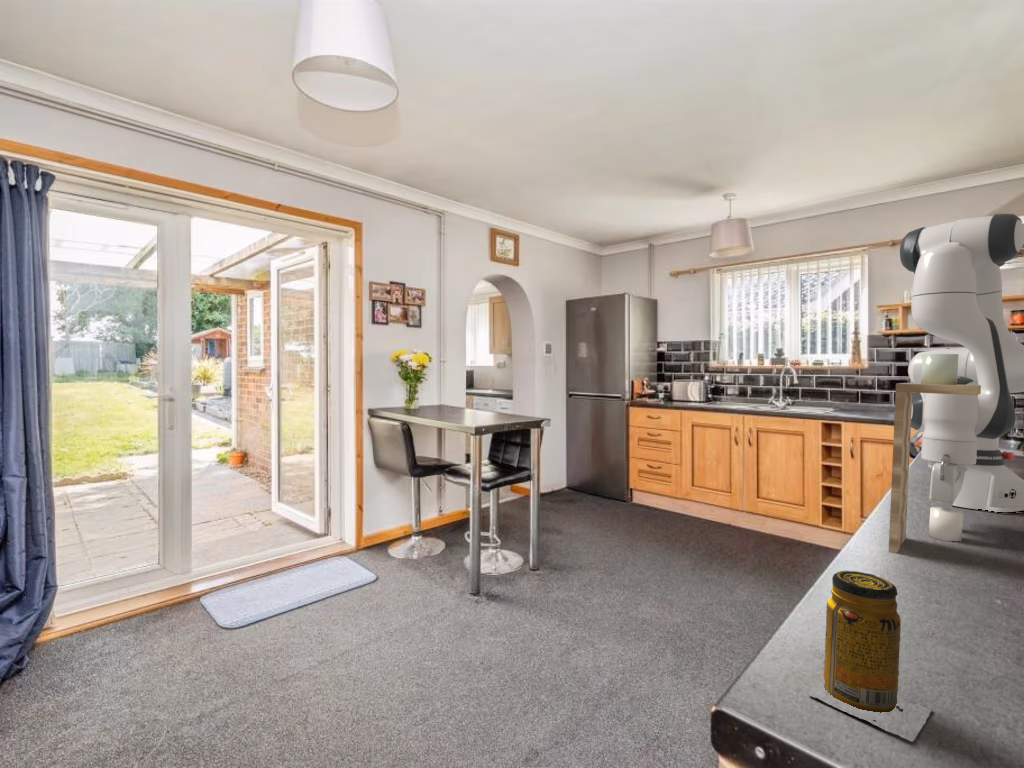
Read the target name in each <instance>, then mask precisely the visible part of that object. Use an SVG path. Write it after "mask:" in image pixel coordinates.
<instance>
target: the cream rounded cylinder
mask: <svg viewBox="0 0 1024 768" xmlns="http://www.w3.org/2000/svg"><path fill="white" fill-rule="evenodd" d="M929 510H930V511H929V520H928V521H929V523H928V524H929V525H928V536H929V537H931V538H935V539H937V540H940V541H941V540H942V541H946V542H952V541H956V542H957V541H960V542H962V538H963V537H962V536H963V525H964V522H963V521H964V512H963V511H961V510H957V509H955V508H954V509H953V508H952V509H949V508H943V507H938V506H931V507H930V508H929ZM956 542H955V543H956ZM957 543H958V542H957Z"/></svg>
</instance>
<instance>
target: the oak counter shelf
mask: <svg viewBox="0 0 1024 768" xmlns="http://www.w3.org/2000/svg"><path fill="white" fill-rule="evenodd" d="M914 393H937V394H963V395H979V394H980V393H981V385H958V384H957V385H937V384H921V383H913V382H901V383H895V396H894V399H895V400H894V418H893V419H894V421H893V422H894V423H893V443H892V465H891V468H892V469H891V487H890V509H889V510H890V514H889V531H888V533H889V536H888V539H889V540H888V553H889V552H890V553H894V554H897V553H898V552H899V551H900V548H901V547H902V546H903V544H904V542H905V540H906V539H907V538H906V537H907V522H908V521H907V517H908V497H909V495H908V493H909V477H910V476H909V475H910V474H909V473H910V455H911V454H910V453H911V452H910V451H911V434H912V433H911V429H912V427H911V412H912V395H913V394H914Z"/></svg>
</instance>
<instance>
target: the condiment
mask: <svg viewBox="0 0 1024 768" xmlns="http://www.w3.org/2000/svg"><path fill="white" fill-rule="evenodd" d="M831 580H832V588H831V589H830V590H831V591H830V592H831V596H830V597H829V598H828V599H827V603H826V606H825V607H826V608H825V609H826V612H825V614H826V615H825V619H826V620H825V623H826V624H825V637H824V641H825V642H824V661H823V666H824V667H823V680H824V682H825V683H824V688H825V690H827V691H828V693H830V695H832V696H833V697H834V698H836V699H838V700H840V701H842V702H844V703H847V704H849V705H851V706H853V707H856V708H858V709H862V710H867V711H873V712H880V713H881V712H890V711H892V710H893V709H894V708H895V706H896V704H897V702H898V701H897V698H898V697H897V695H898V693H899V692H898V691H899V675H900V670H899V668H900V666H899V665H900V650H901V649H900V645H901V643H900V642H901V629H902V628H901V624H902V623H901V620H902V619H901V616H900V614H899V612H897V609H898V602H897V596H898V589H897V586H895V584H893V583H892V582H890V581H889V580H887V579H885V578H884V577H881V576H877V575H875V574H872V573H867V572H863V571H858V570H841V571H837V572H836V573H834V574H833V576H832V579H831ZM896 707H897V706H896Z"/></svg>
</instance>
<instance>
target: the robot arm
mask: <svg viewBox="0 0 1024 768" xmlns="http://www.w3.org/2000/svg"><path fill="white" fill-rule="evenodd" d="M1023 246H1024V223H1023V221H1022V219H1021V218H1020V217H1019V216H1017V215H1016V214H1014V213H996V214H995V213H994V215H988V216H987V215H985V216H977V217H976V216H975V217H967V218H962V219H957V220H954V221H949V222H944V223H938V224H936V225H935V224H934V225H932V226H928V227H925V226H923V227H920V228H917V229H914V230H911V231H909V232H908V233H906V234H905V236H904V237H903V238H902V239H901V242H900V247H899V258H900V263H901V265H902V266H903V268H904V269H906V270H907V271H908V272H911V273H912V272H913V274H914V277H913V281H912V290H911V299H910V300H911V301H910V305H911V306H910V307H911V317H912V320H913V322H914V323H915V325H916V326H917V327H919V328H920V330H922V331H924V332H925V333H928V334H930V335H932V336H933V337H934V336H935V337H936V338H937V337H938V338H941V339H945V340H947V341H951V342H952V343H953V342H954V343H957V344H959V345H961V346H962V347H965V348H939V349H933V350H932V349H930V350H925V351H920V352H918V353H916V354H915V355H914V356H913V357H912V358H911V360H910V361H909V363H908V367H907V373H908V377H909V379H910V381H911V383H921V374H922V354H959V355H958V376H957V384H958V385H981V393H980V394H979V395H963V394H937V393H912V412H911V429H912V430H914V431H918V432H921V433H922V435H921V448H920V449H921V451H920V452H921V453H920V459H922V460H925V461H927V463H928V464H927V466H928V468H930V469H931V473H930V486H929V496H928V499H929V500H930V502H931V503H936V504H937V505H938V506H937V507H943V508H949V509H953V506H954V507H959V508H963V509H970V510H971V509H973V510H978V509H982V510H981V511H985V510H988V511H987V512H991V511H994V512H993V513H997V512H1013V511H1021V510H1024V479H1023V478H1021V477H1020V476H1019V475H1017V474H1016V473H1015V472H1014V471H1012V470H1011V469H1010V468H1008V467H1007V466H1006V462H1005V460H1008V461H1014V460H1015V459H1016V454H1015V452H1012V451H1006V450H1004V451H1001V450H1000V449H999V446H1000V445H999V444H1000V437H1002V436H1005V435H1006V434H1008V433H1009V432H1010V431H1011V430H1013V428H1014V427H1015V425H1016V411H1015V407H1014V403H1013V400H1012V397H1011V394H1015V393H1016V394H1017V393H1024V344H1022V343H1021V342H1019V340H1017V339H1016V338H1015V337H1014V336H1013V335H1012V333H1011V332H1010V331H1009V329H1008V326H1007V324H1006V321H1005V316H1004V309H1003V307H1004V306H1003V281H1002V280H1003V279H1002V274H1001V267H1003V266H1005V263H1006V262H1010V261H1012V260H1013V259H1014V258H1016V256H1018V254H1020V253H1021V251H1022V249H1023Z"/></svg>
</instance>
